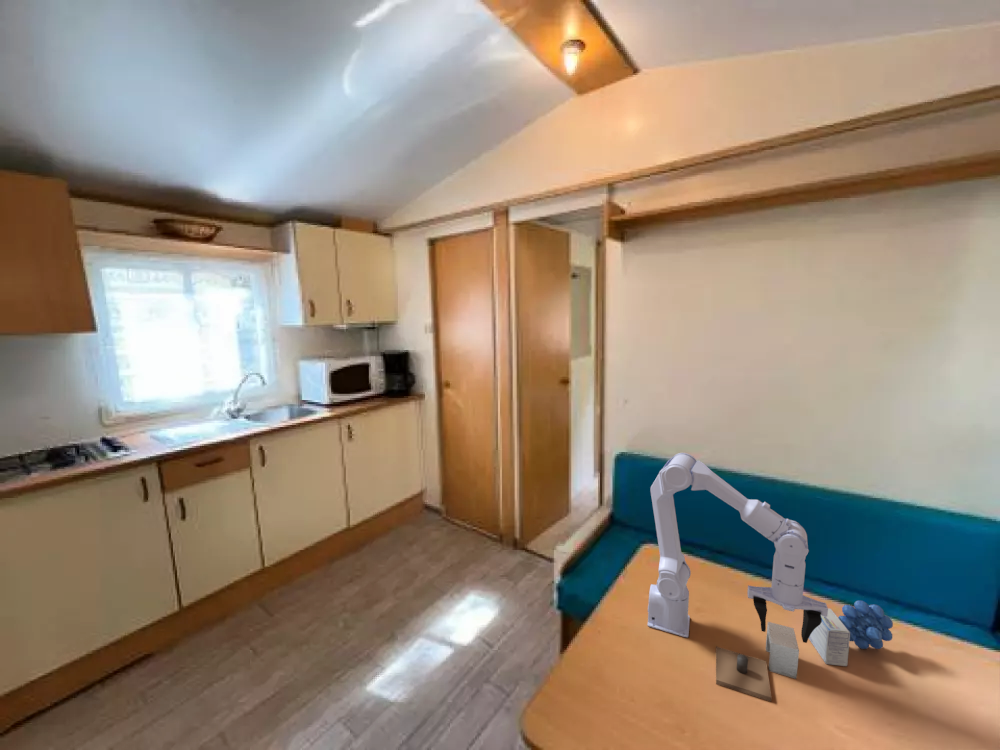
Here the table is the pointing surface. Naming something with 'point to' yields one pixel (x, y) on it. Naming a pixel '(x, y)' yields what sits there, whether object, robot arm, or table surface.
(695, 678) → the table surface
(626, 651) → the table surface
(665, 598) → the robot arm
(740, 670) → the thin tan panel
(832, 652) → the medicine box
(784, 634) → the brushed steel brick
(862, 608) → the grapes
